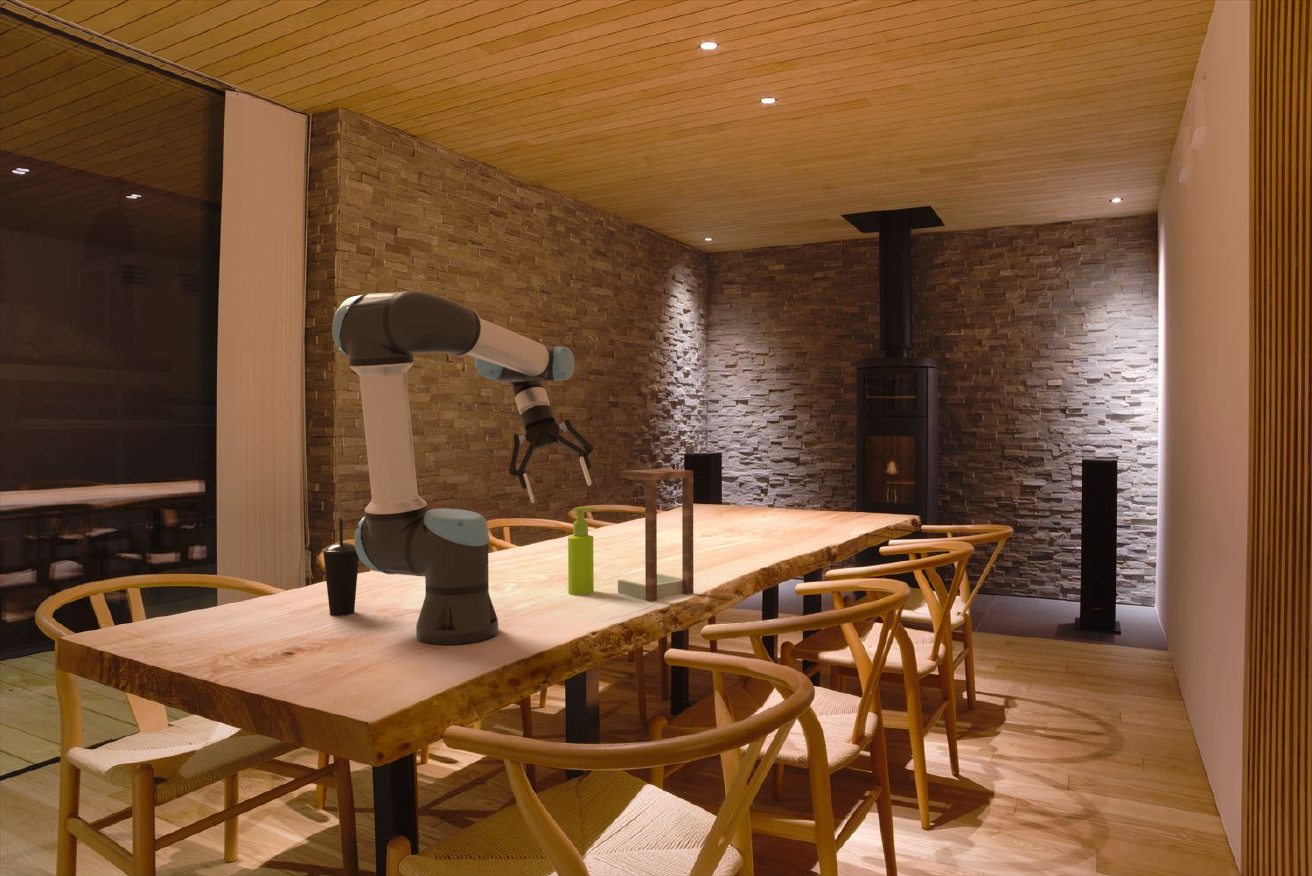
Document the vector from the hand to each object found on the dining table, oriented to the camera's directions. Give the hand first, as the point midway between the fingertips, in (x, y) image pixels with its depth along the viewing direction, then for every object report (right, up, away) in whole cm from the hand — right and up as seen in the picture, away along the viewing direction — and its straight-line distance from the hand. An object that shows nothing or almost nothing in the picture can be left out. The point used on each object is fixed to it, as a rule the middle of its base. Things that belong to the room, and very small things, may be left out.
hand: (561, 492), depth 195 cm
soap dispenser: (+5, -24, +3) cm, 24 cm away
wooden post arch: (+22, -23, +1) cm, 32 cm away
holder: (+21, -23, +3) cm, 31 cm away
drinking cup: (-44, -24, -17) cm, 53 cm away
